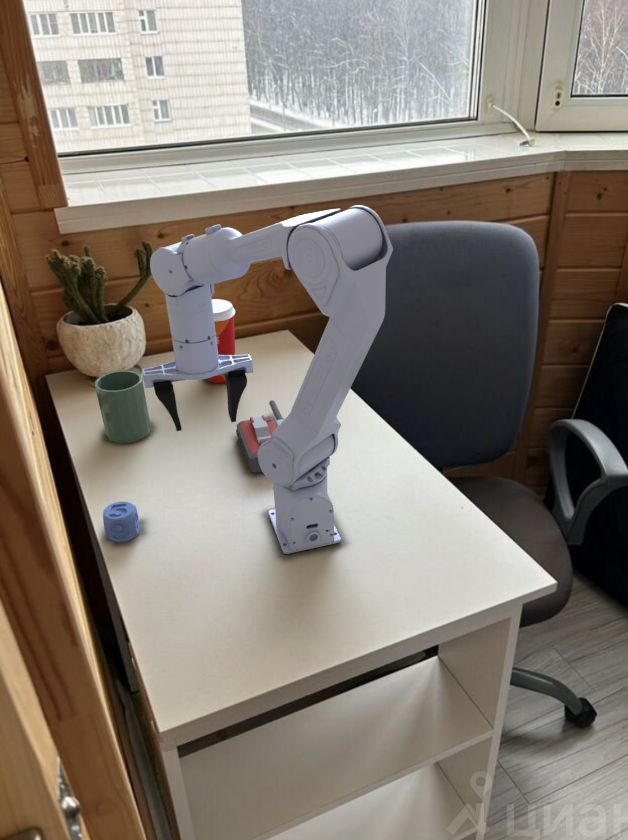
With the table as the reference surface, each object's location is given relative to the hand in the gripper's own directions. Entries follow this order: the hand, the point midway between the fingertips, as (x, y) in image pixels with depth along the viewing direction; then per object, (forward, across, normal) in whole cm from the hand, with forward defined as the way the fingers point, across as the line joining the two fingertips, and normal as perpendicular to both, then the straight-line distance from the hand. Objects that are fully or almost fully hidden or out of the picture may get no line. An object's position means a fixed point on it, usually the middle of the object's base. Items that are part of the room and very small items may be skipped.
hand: (205, 423), depth 103 cm
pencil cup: (+10, +11, -19) cm, 24 cm away
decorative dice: (+11, +14, +8) cm, 19 cm away
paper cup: (+11, -7, -34) cm, 36 cm away
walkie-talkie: (+11, -10, -9) cm, 17 cm away
